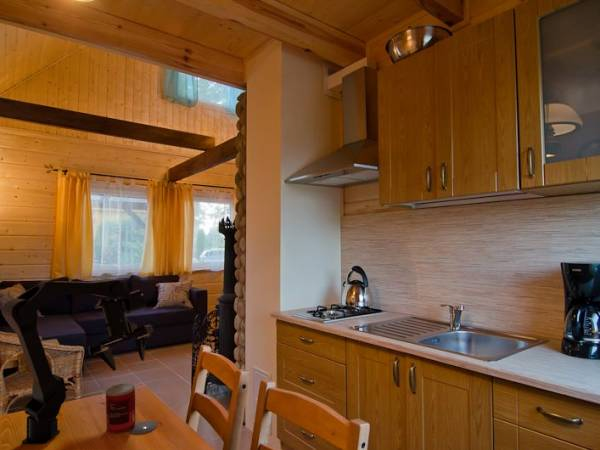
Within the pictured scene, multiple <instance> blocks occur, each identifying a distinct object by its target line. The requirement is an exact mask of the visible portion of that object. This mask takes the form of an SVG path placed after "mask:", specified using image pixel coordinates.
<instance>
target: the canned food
mask: <svg viewBox="0 0 600 450" xmlns="http://www.w3.org/2000/svg"><path fill="white" fill-rule="evenodd" d="M135 387H136V386H135V384H133V383H129V382H128V383H120V384H116V385H115V384H114V385H113V386H110V387H108V388H107V389H106V390H105V406H106V407H105V413H106V415H105V416H106V418H105V419H106V430H107V432H109V433H110V434H111V433H112V434H119V433H124V432H126V431H128V430H129V429H131V428H132V427H133V426H134V425H135V423H136V421H137V420H136V419H137V418H136V414H137V413H136V388H135Z"/></svg>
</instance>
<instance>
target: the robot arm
mask: <svg viewBox="0 0 600 450" xmlns="http://www.w3.org/2000/svg"><path fill="white" fill-rule="evenodd" d="M54 295H92V296H93V295H94V296H98V297H104V298H110V299H106V300H105V299H103V298H100V299H99V300H98V301H97V304H96V305H95V306H94V309H95V310H96V309H100V308H102V312H103V315H104V319H105V324H104V327H105V328H107V329H108V334H109V336H108V339H107V338H106V339H103V340H100V341H97V342H95V343H92V344H90V345H89V346H88V352H89V353H88V354H89V355H92V354H94V356H95V357H96V356H98V357H99V358H100V359H102V360H103V361H104V362H105V363H106V365H108V367H110V369H111V370H112V371H113V372H114V371H115V372H116V371H117V366H116V363H115V359H114V357H113V354H112V352H113V347H111V348H110V346H113V345H116V344H119V343H122V342H124V341H128V340H130V339H134V338H136V339H134V343H135V346H136V349H137V353H138V355H139V358H140V360H141V361H142V362H143V361H145V356H146V355H145V352H146V344H147V340H148V338H149V337H150V336H151V333H154V327H153V326H152V324H145V325H143V326H141V327H138V326H137V324H136V323H134V322H131V321H130V319H129V318H128V316H127V317H126V314H127V315H128V314H132V313H136V312H139V311H142V310H145V309H147V299H146V298H145V296H144V294H143V292H142V290H139V289H138V290H137V289H136V290H134V291H131V292H129V291H128V290H127V289H126V288H125V286H124V283H123V282H122V280H120V279H111V278H110V279H109V278H104V279H103V278H102V279H97V280H93V281H88V282H87V281H65V280H64V281H61V280H60V281H59V280H58V281H57V280H56V281H55V280H48V279H46V280H41V281H40V282H38V283H37V284H35V285H34V286H33V287H32V288H29V289H28V290H26V291H24V292H22V293H21V294H19V295H18V296H17V297H16V298H12V299H9V300H8V301H6V302H5V303H4V304H3V307H2V308H1V314H2V316H3V318H4V319H5V321H6V322H7V323H8V325H9V326H10V327H11V328H12V330H13V331H14V332H15V333H16V335H17V338H18V340H19V343H20V345H21V348H22V351H23V354H24V357H25V360H26V362H27V365H28V369H29V370H30V374H31V377H32V380H33V382H32V387H31V389H32V390H31V391H32V397H31V398H30V399H29V401H28V402H27V403H26V404H25V405H24V406H23V411H24V413H25V415H28V416H27V417H26V436H25V437H26V438H24V439H23V440H21V443H22V444H37V445H39V444H46V443H47V442H49V441H50V440H52V439H53V438H54V437H56V436H57V435H59V434H60V433H61V429H58V425H59V424H58V422H59V419H58V418H57V417H58V415H59V413H60V410H61V408H62V405H64V403H65V400H66V399H67V391H69V389H67V387H66V386H65V385H66V384H65V380H64V377H62V376H59V375H57V374H54V373H53V371H52V369H51V365H50V363H49V360H48V358H47V354H46V351H45V348H44V346H43V343H42V339H41V337H40V334H39V331H38V322H39V315H38V311H39V310H40V309H42V308H43V307H44V306H45V304H46V303H47V302H48V301H49V300H50V298H52V296H54ZM117 299H118V300H117Z"/></svg>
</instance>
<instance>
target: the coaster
mask: <svg viewBox="0 0 600 450" xmlns="http://www.w3.org/2000/svg"><path fill="white" fill-rule="evenodd" d="M157 428H158V422H157V421H154V420H142V421H137V422H135V425H134V426H133V427H132V428H131V429H129V430H127V431H128V433H129V434H131V435H145V434H149V433H151V432H153V431H155V430H156V429H157Z"/></svg>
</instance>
